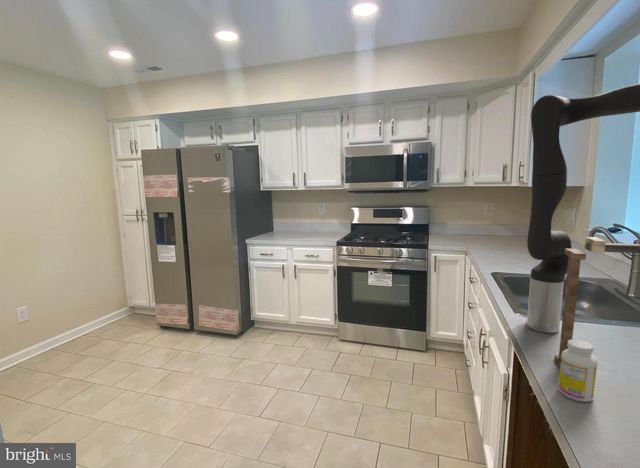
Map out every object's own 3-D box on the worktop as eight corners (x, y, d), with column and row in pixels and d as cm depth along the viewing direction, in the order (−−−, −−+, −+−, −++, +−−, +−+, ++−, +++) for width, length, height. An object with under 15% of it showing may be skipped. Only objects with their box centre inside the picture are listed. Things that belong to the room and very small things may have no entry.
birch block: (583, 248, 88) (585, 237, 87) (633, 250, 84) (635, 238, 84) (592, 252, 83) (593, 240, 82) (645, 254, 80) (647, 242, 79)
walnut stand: (554, 359, 95) (565, 248, 89) (564, 360, 94) (576, 248, 89) (562, 371, 89) (574, 253, 84) (573, 372, 88) (586, 253, 83)
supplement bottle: (577, 384, 83) (583, 336, 81) (600, 402, 77) (607, 350, 75) (551, 386, 83) (556, 337, 81) (572, 403, 76) (577, 351, 74)
